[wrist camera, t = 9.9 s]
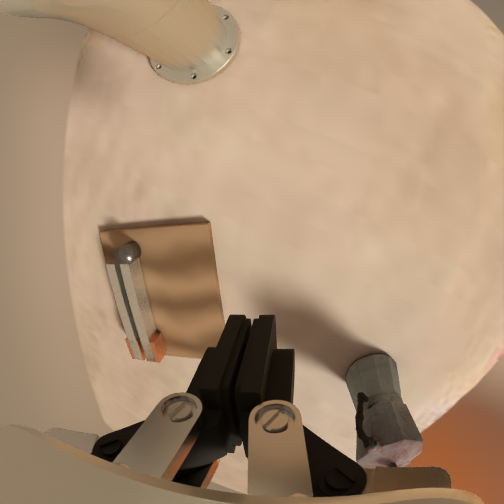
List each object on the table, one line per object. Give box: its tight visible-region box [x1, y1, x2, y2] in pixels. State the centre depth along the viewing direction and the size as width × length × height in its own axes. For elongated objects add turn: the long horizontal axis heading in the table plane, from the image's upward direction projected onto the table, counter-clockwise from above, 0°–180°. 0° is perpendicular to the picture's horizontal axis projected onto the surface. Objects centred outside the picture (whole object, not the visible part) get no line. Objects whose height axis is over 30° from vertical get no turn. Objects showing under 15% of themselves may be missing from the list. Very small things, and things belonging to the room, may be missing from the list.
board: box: [100, 222, 225, 359], centre depth 42 cm, size 22×18×1 cm
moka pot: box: [346, 354, 423, 469], centre depth 33 cm, size 10×15×20 cm, turn 49°
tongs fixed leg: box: [106, 259, 146, 360], centre depth 42 cm, size 17×2×3 cm, turn 5°
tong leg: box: [115, 241, 167, 363], centre depth 41 cm, size 19×3×3 cm, turn 4°
